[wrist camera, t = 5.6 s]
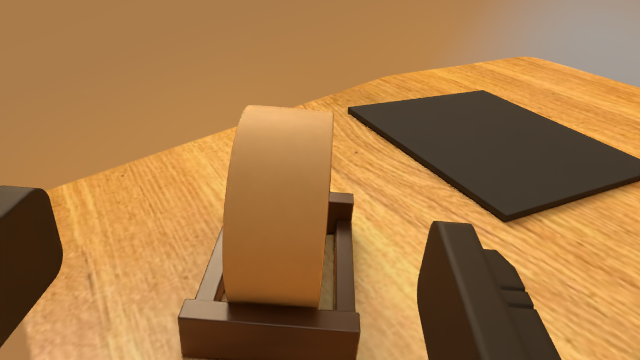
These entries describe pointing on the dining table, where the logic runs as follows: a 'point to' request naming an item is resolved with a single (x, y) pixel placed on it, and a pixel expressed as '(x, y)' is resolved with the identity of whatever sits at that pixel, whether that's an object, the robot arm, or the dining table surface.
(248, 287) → the tape roll
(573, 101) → the dining table surface
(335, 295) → the holder
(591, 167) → the mat
